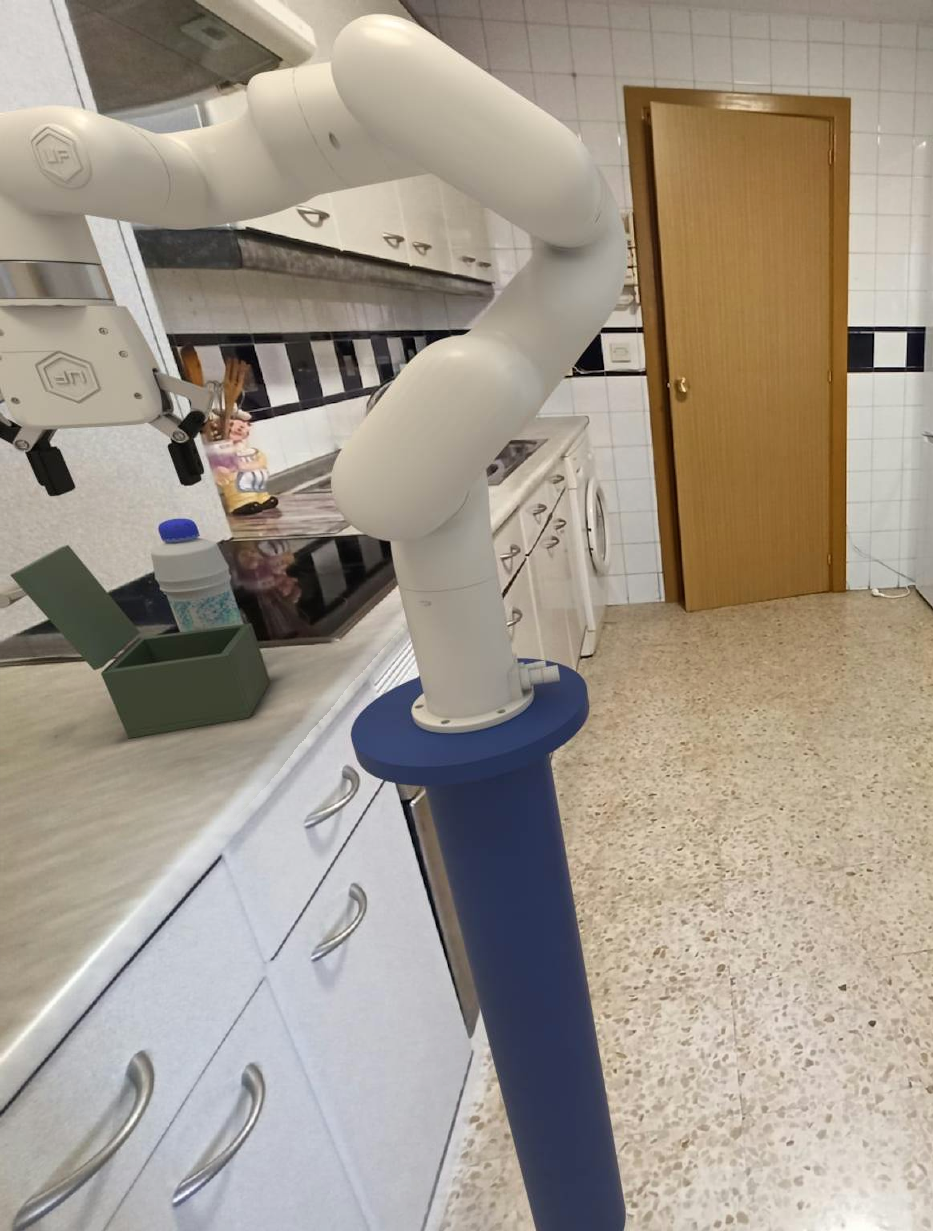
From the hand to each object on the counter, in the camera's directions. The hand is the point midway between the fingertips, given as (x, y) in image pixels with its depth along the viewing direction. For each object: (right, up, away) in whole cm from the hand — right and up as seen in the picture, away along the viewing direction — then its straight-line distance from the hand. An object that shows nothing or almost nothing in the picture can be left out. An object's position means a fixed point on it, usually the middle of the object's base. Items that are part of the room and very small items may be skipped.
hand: (129, 488), depth 67 cm
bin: (-5, -23, +15) cm, 27 cm away
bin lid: (-11, -11, +7) cm, 17 cm away
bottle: (-9, -20, +22) cm, 31 cm away
